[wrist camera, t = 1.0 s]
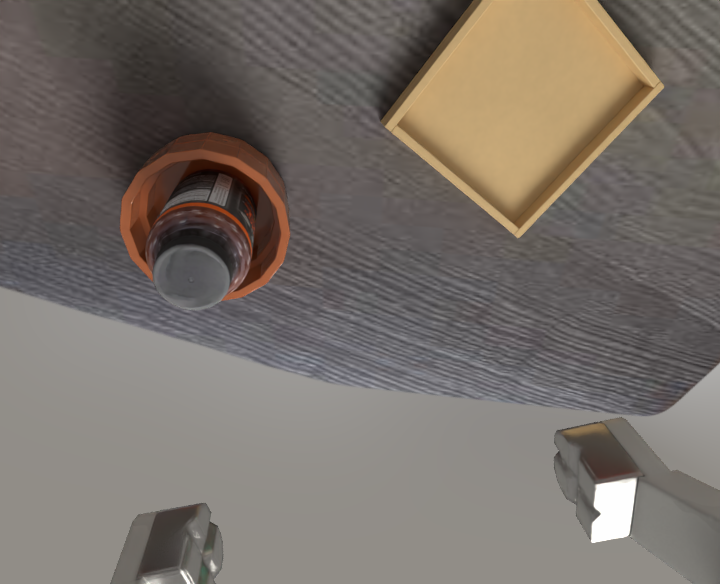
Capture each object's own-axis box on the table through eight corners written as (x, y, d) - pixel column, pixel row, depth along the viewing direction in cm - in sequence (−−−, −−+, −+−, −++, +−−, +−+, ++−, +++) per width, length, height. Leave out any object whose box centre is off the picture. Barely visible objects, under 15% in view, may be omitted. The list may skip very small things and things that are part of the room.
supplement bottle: (262, 240, 37) (256, 322, 28) (182, 247, 37) (147, 333, 27) (251, 162, 34) (239, 224, 25) (163, 168, 34) (116, 234, 24)
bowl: (113, 220, 35) (90, 250, 31) (187, 99, 32) (172, 113, 28) (239, 290, 40) (234, 325, 35) (315, 190, 36) (320, 214, 32)
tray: (380, 121, 35) (384, 126, 33) (527, -71, 30) (539, -75, 29) (510, 230, 40) (518, 238, 39) (649, 83, 36) (665, 86, 34)
